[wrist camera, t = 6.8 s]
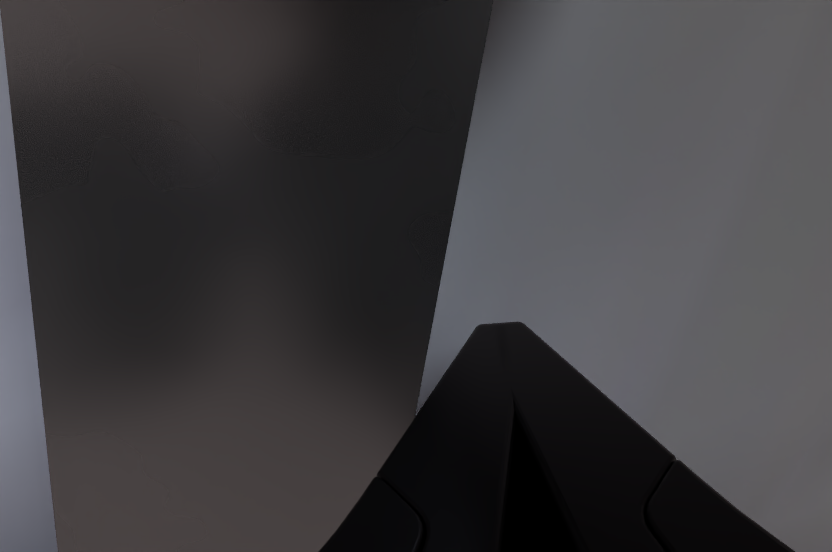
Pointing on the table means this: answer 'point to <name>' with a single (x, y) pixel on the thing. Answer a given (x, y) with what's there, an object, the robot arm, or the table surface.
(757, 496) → the table surface
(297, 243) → the link
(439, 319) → the table surface
